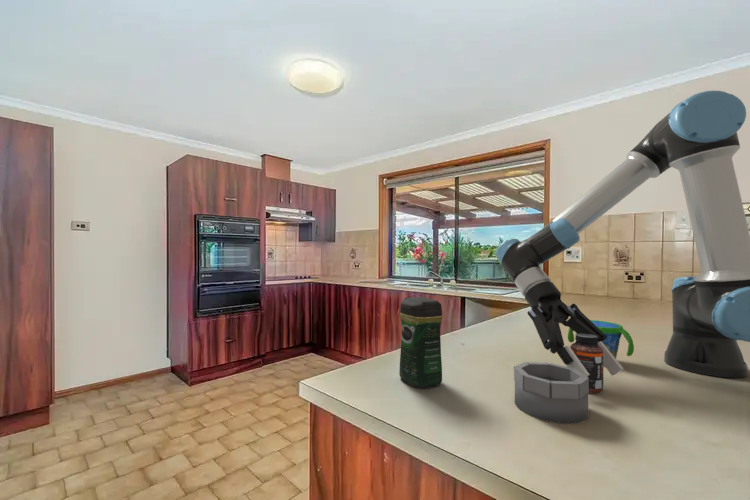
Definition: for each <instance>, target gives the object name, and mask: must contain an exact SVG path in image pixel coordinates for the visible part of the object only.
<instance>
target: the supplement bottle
mask: <svg viewBox="0 0 750 500" xmlns="http://www.w3.org/2000/svg"><path fill="white" fill-rule="evenodd" d="M569 347H570V348H571V349H572V351H573V352H574V354H575V355H576V356H577V358H578V359H579V360H580V362H581V363H582V365H583V366H584V367H585V369H586V370H587V372H588V373H589V374H590V375H589V376H587V377H588V378H589V393H588V394H590V393H591V394H599V393H602V392H603V391H604V365H603V349H602V348H601V347H600V346H599V345H598V337H597V336H595V335H592V334H583V333H578V334H577V333H575V336H574V342H572V344H571V345H570V346H569Z"/></svg>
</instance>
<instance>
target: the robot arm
mask: <svg viewBox="0 0 750 500" xmlns="http://www.w3.org/2000/svg"><path fill="white" fill-rule="evenodd" d="M746 118H747V108H746V106H745V104H744V102H743V101H742V99H741V98H739V96H737V95H734V94H732V93H729V92H726V91H722V90H706V91H705V90H704V91H701V92H698V93H695V94H692V95H691V96H689V97H687V98H686V99H684V100H683V101H680V102H679V103H678V104H676V105H675V106H674V107H673V108H672V109H671V111H670V112H669V113H668V114H667V115H665V116H664V117H663V118H662V119H661V120H659V122H657V123H656V124H655V125H654V126H653V127H652V128H651V129H650V131H649V132H648V133H647V134H646V135H645V136H644V138H642V140H641V141H639V143H638V144H637V145H635V146H634V147H633V148H632V149H631V150H630V151H628V152H627V154H626V159H625V160H623V161H622V162H621V163H620V164H619V165H617V167H615V168H614V169H612V171H610V172H609V173H608V174H607V175H605V176H604V177H603V178H601V179H600V181H598V182H597V183H596V184H595V185H593V186H592V187H591V188H590V189H588V190H587V191H586V192H585V193H584V194H582V195H581V196H580V197H578V199H577V200H575V201H574V202H572V203H571V205H569V206H567V208H565V209H564V210H563V211H562V212H561V213H559V214H558V215H557V216H556V217H555V218H553V220H551V221H550V222H549V223H548V224H545V226H544V227H543V228H541V229H540V230H538V231H537V232H535V233H534V234H532V235H531V236H529V237H527V238H526V239H524V240H522V241H520V240H519V239H518V238H510V239H509V240H508V239H506V240H504V241H503V242H501V243H500V244H499V245H498V247H497V248H496V250H495V256H496V258H497V260H498V261H499V263H500V265H501V266H502V268H503V269H504V271H505V272H506V274H507V275H508V277H509V278H510V279H511V281H512V282H513V283H514V285H516V287H517V289H518V290H519V292H520V293H521V294H522V296H523V297H524V299H525V301H526V302H527V304H528V305H529V307H530V309H528V311H527V315H528V316H529V318H530V319H531V320H532V323H533V324H534V327H535V329H536V331H537V335H539V339H540V341H541V343H542V345H543V347H544V349H545V350H547V351H548V350H549V351H550V353H551V354H553V355H554V354H557V356H559V358H560V359H561V360H562V363H563V364H564V365H566V367H569V368H573V369H576V370H578V371H579V372H581V373H582V374H584V375H585V376H589V375H590V374H589V373H588V372H587V370H586V369H585V367H584V366H583V365H582V363H581V362H580V360H579V359H578V358H577V356H576V355H575V354H574V352H573V351H572V349H571V348H570V347H571V346H570V345H565V341H564V338H563V334H562V331H561V327H560V324H561V325H563V326H564V327H567V328H571V329H572V330H573V332H575V334H578V333H583V334H592V335H595V336H597V337H598V345H599V346H600V347H601V348H602V349H603V367H605V368H606V370H607V371H608V372H609V374H610V376H615V375H617V374H618V373H620V372H621V371H623V370H624V367H623V366H622V365H621V363H620V361H618V359H617V358H616V359H615V357H614V356H613V355H612V353H611V352H610V350H609V349H608V348H607V347H606V345H605V344H604V343H603V341H604V340H605V339H606V338H607V336H606V335H605V334H604V333H603V332H602V331H601V330H600V329H599V328H598V327H597V326H596V325H595V324H593V323H592V322H591V321H590V320H591V319H590V318H588V317H587V316H586V315H585V314H584V313H583V312H582V311H581V310H580V308H579V306H578V305H577V304H575V303H572V304H570V305H567V304H566V303H565V302H563V300H562V299H561V296H562V293H561V291H560V290H559V289H558V288H557V286H556V285H555V283H553V281H552V280H551V278H550V277H549V276H548V275H547V273H546V272H545V271H544V270H543V269H542V268H541V265H542V264H545V262H547V261H550V260H551V259H552V258H554V257H556V256H558V255H560V253H563V252H565V251H566V250H568V249H570V248H571V247H572V246H574V245H575V244H577V243H579V241H580V235H579V234H580V233H582V232H583V231H584V230H586V229H587V228H588V227H589V226H591V225H592V224H593V223H595V222H596V221H597V220H598V219H599V218H601V217H602V216H603V215H604V214H606V213H607V212H609V210H611V209H612V208H613V207H615V206H616V205H618V204H619V203H620V202H621V201H622V200H624V199H625V198H626V197H628V196H629V195H630V194H631V193H633V192H634V191H635V190H636V189H637V188H639V187H640V186H641V185H642V184H644V183H645V182H647V180H649V179H656V178H658V177H659V176H660V175H661V174H663V173H665V172H666V171H667V170H668V169H671V168H674V169H675V170H678V172H679V175H680V180H681V185H682V189H683V193H684V194H683V195H684V198H685V202H686V206H687V207H686V208H687V211H688V217H689V220H690V226H691V229H692V234H693V240H694V243H695V249H696V252H697V253H696V254H697V256H698V262H699V265H700V272H699V274H697V275H696V276H695V275H694V276H681V277H677V278H674V280H673V281H672V288H671V293H672V303H671V305H672V333H671V334H672V335H671V337H670V339H669V341H668V344H667V347H666V350H665V351H664V354H663V355H664V357H663V358H664V359H663V360H664V362H665V363H666V364H667V365H668V366H672V367H675V368H676V369H681V370H684V371H686V372H687V371H688V372H691V373H696V374H701V375H707V376H714V377H720V378H721V377H722V378H731V379H732V378H746V377H748V374H749V370H748V368H749V366H748V364H747V362H745V359H744V356H743V354H742V351H741V349H740V346H739V343H738V341H741V342H742V341H743V342H747V343H750V229H749V226H748V225H749V224H748V222H747V217H746V213H745V210H744V204H743V201H742V196H741V191H740V187H739V183H738V178H737V174H736V171H735V166H734V161H733V157H734V155H735V154H736V153H737V152H738V151H739V150H740V149H741V144H740V142H739V141H740V140H739V136H738V133H737V132H738V131H739V130H740V129H741V128H742V126H743V125H744V123H745V121H746Z"/></svg>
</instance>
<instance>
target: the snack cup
mask: <svg viewBox="0 0 750 500" xmlns="http://www.w3.org/2000/svg"><path fill="white" fill-rule="evenodd" d="M589 320H590V321H591V322H592V323H593V324H595V325H596V326H597V327H598V328H599V329H600V330H601V331H602V332H603V333H604V334H605V335H606V336H607V338H606V339H605V340H604V341H603V343H604V344H605V345H606V347H607V348H608V349H609V350H610V352H611V353H612V355H613V356H614V357H615V359H616V360H617V356H618V352H619V346H620V340H621V337H622V336H624V338H625V340H626V341H627V343H628V346H627V352H626V356H627V357H630V356H632V355H633V354H634V350H635V344H634V341H633V338H632V336H631V334H630V333H629V332H628V331H627V330H626V329H624V327H623V325H622V324H619V323H616V322H615V323H614V322H610V321H603V320H595V319H589ZM567 340H568V342H569V343H575V336H574V331H573V330H572V329H571V328H570V327H568V332H567Z"/></svg>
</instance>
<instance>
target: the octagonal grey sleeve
mask: <svg viewBox="0 0 750 500" xmlns="http://www.w3.org/2000/svg"><path fill="white" fill-rule="evenodd" d="M513 376H514V377H513V380H514V381H513V382H514V404H515V407H517V409H518V410H519V411H521V412H523V413H525V414H526V415H529V416H531V417H533V418H535V419H538V420H542V421H545V422H551V423H556V424H565V425H573V424H574V425H575V424H580V423H581V424H582V423H583V422H586V421H587V420H588V419H589V394H590V393H589V378H588V377H587V376H585V375H584V374H582V373H581V372H579V371H578V370H576V369H573V368H569V367H568V366H564V365H560V364H556V363H550V362H540V361H539V362H538V361H536V362H534V361H526V362H522V363H519V364H518V365H515V366H513Z"/></svg>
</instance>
